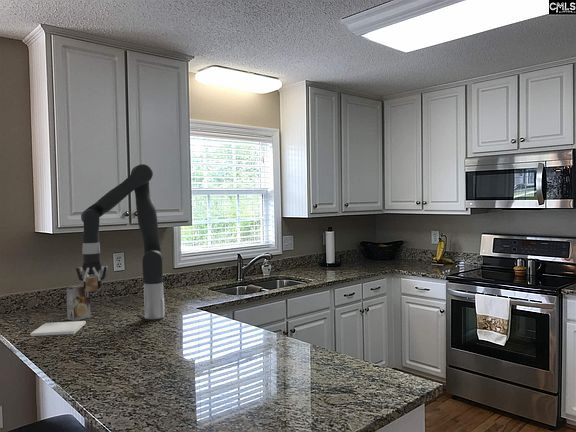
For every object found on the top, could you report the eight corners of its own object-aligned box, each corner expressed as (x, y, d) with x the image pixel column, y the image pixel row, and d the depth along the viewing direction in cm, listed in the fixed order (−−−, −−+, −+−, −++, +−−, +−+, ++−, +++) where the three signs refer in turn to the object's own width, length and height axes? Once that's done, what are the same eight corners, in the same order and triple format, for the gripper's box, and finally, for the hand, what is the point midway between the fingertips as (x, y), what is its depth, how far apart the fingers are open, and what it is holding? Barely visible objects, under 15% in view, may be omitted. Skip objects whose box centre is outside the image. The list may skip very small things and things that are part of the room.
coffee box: (84, 315, 243) (83, 284, 242) (91, 317, 239) (90, 285, 238) (66, 319, 236) (65, 287, 235) (73, 321, 232) (72, 288, 231)
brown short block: (100, 289, 225) (99, 276, 225) (97, 291, 220) (96, 278, 220) (88, 289, 224) (88, 277, 224) (85, 291, 220) (85, 278, 219)
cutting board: (85, 323, 227) (85, 320, 227) (74, 333, 209) (74, 331, 209) (45, 325, 225) (45, 322, 225) (30, 336, 207) (30, 333, 207)
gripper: (109, 251, 226) (110, 286, 227) (77, 252, 224) (79, 288, 225) (105, 252, 219) (107, 289, 220) (72, 254, 217) (74, 291, 218)
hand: (92, 288), depth 222 cm, fingers closed on brown short block, 5 cm apart
